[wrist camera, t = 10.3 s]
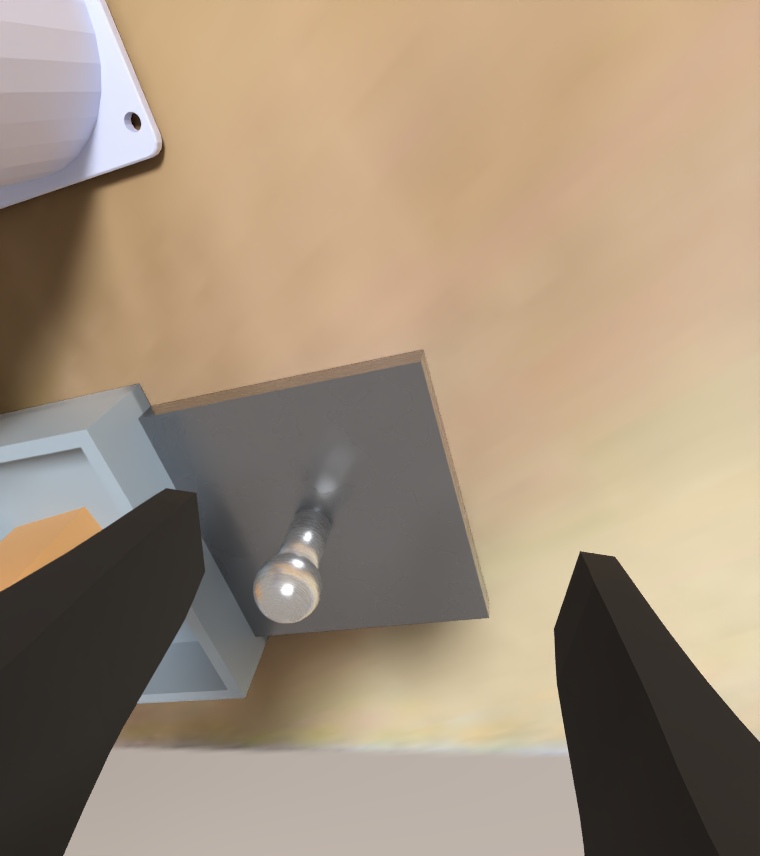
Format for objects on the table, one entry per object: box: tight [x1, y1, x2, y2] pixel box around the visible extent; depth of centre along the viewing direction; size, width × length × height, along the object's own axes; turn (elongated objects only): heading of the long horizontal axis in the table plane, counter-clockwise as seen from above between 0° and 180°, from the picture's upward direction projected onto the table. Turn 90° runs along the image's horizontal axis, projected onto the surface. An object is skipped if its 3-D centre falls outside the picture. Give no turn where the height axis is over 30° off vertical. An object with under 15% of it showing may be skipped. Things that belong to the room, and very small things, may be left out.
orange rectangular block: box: [0, 507, 103, 591], centre depth 24 cm, size 4×4×7 cm
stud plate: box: [138, 350, 489, 637], centre depth 22 cm, size 12×12×6 cm
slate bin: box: [0, 384, 269, 704], centre depth 26 cm, size 14×14×4 cm
